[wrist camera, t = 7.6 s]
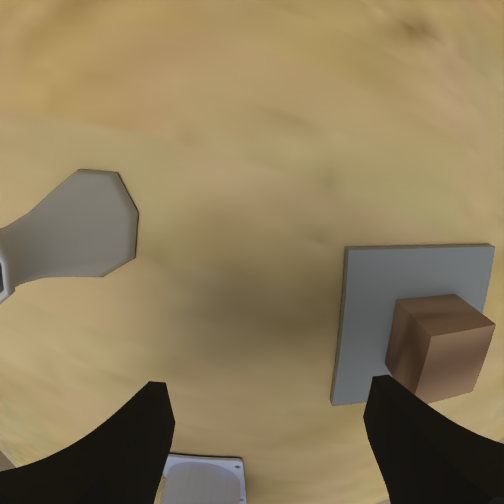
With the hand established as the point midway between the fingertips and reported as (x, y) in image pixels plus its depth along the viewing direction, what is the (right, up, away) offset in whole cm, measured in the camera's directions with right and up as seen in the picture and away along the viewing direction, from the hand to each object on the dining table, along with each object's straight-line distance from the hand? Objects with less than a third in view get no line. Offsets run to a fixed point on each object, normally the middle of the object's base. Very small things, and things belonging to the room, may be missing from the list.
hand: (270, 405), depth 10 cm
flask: (-11, +7, +9) cm, 16 cm away
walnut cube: (+11, 0, +9) cm, 15 cm away
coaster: (+11, 0, +10) cm, 15 cm away
